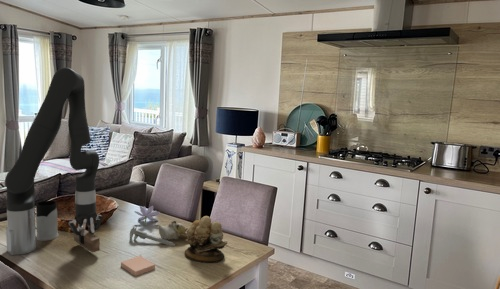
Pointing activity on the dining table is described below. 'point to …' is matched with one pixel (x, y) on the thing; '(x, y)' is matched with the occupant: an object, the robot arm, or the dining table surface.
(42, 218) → the glass holder
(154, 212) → the water lily
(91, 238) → the walnut bar
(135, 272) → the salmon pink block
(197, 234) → the owl figurine
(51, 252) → the dining table surface
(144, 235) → the caliper
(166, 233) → the ceramic sculpture
